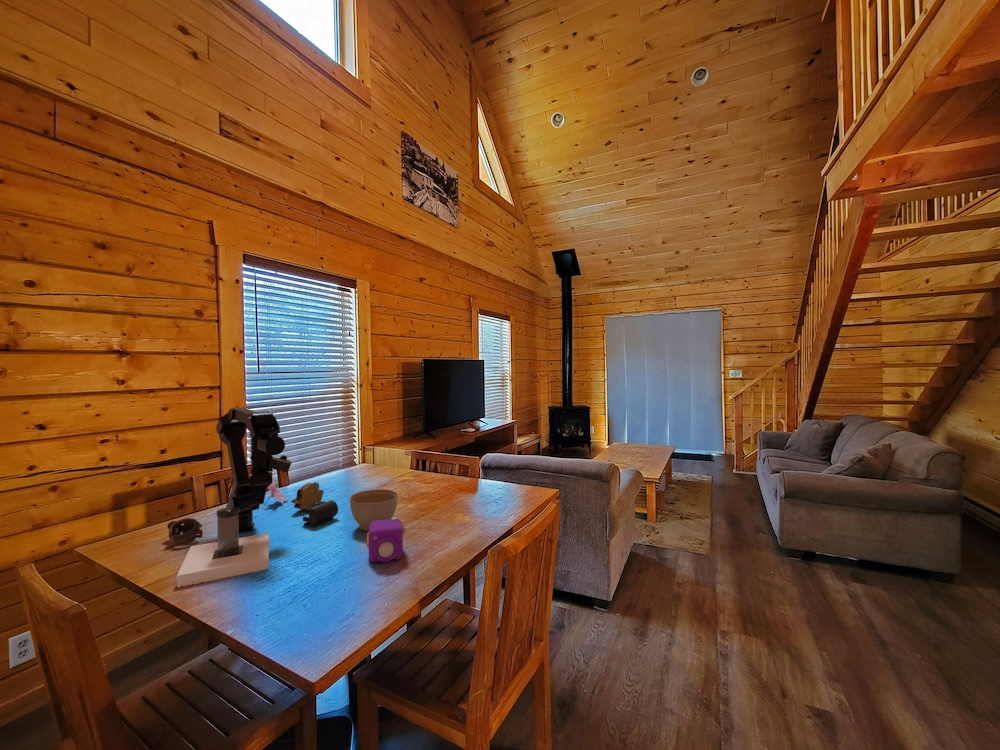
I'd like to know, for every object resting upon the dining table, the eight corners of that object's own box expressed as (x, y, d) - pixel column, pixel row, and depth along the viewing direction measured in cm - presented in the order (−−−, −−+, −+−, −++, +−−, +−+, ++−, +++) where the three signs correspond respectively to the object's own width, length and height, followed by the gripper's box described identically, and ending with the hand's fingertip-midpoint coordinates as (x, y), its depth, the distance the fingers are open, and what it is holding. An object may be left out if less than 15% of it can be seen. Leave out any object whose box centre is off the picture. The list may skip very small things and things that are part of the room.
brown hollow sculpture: (212, 536, 137) (207, 519, 132) (187, 560, 128) (181, 542, 124) (182, 525, 138) (176, 508, 134) (155, 547, 130) (148, 530, 126)
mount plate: (191, 556, 120) (191, 546, 120) (269, 542, 130) (269, 532, 130) (176, 587, 103) (176, 575, 103) (268, 568, 113) (268, 558, 113)
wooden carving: (314, 501, 171) (314, 477, 171) (324, 501, 170) (324, 477, 170) (288, 515, 155) (288, 488, 155) (300, 515, 154) (299, 489, 154)
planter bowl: (361, 540, 131) (361, 506, 131) (342, 526, 144) (342, 495, 143) (406, 527, 142) (406, 496, 142) (385, 515, 154) (385, 486, 154)
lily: (270, 513, 160) (284, 490, 162) (246, 500, 162) (260, 477, 164) (287, 513, 171) (299, 491, 173) (264, 500, 173) (277, 479, 175)
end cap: (317, 528, 141) (316, 509, 141) (301, 526, 144) (301, 506, 144) (338, 519, 151) (338, 500, 151) (323, 516, 153) (323, 498, 153)
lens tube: (218, 560, 118) (217, 508, 118) (240, 556, 120) (239, 505, 120) (215, 568, 113) (215, 514, 113) (239, 564, 115) (238, 510, 115)
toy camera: (371, 572, 111) (371, 535, 110) (363, 552, 123) (362, 519, 123) (411, 563, 116) (410, 528, 115) (399, 545, 128) (399, 513, 128)
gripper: (290, 454, 127) (291, 504, 127) (288, 444, 144) (289, 489, 144) (248, 457, 122) (249, 510, 122) (251, 447, 138) (252, 493, 138)
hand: (261, 499), depth 132 cm, fingers open, 9 cm apart
